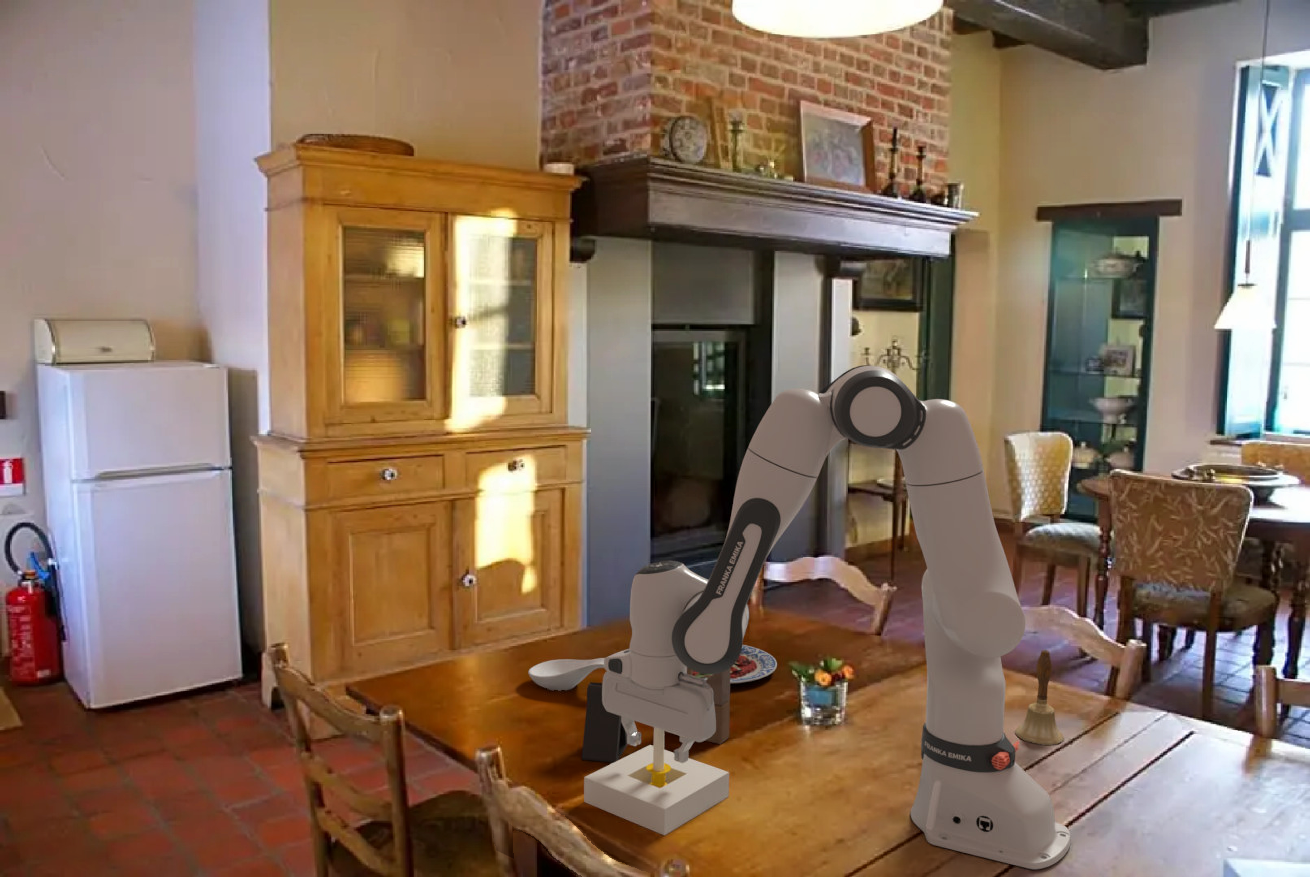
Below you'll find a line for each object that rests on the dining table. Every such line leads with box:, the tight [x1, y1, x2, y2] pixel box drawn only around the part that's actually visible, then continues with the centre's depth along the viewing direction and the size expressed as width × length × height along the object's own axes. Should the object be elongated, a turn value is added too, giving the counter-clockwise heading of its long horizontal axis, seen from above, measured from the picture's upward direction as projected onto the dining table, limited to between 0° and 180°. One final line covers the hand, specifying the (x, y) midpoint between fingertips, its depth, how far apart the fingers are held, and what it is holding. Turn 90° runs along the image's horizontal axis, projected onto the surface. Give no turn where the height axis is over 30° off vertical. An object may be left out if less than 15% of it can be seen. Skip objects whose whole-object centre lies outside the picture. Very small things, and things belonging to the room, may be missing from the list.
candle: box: [646, 727, 671, 788], centre depth 159 cm, size 5×5×16 cm
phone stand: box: [581, 681, 629, 764], centre depth 177 cm, size 9×6×12 cm, turn 167°
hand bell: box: [1014, 649, 1065, 746], centre depth 186 cm, size 8×8×16 cm
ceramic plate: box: [692, 644, 778, 684], centre depth 220 cm, size 26×26×3 cm
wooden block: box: [687, 667, 731, 745], centre depth 184 cm, size 4×11×18 cm, turn 61°
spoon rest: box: [528, 657, 606, 692], centre depth 207 cm, size 24×12×7 cm, turn 63°
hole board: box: [583, 744, 730, 836], centre depth 160 cm, size 16×16×4 cm
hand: (657, 752), depth 160 cm, fingers open, 8 cm apart
